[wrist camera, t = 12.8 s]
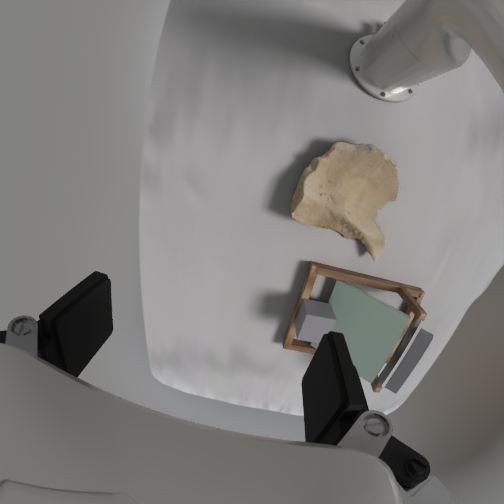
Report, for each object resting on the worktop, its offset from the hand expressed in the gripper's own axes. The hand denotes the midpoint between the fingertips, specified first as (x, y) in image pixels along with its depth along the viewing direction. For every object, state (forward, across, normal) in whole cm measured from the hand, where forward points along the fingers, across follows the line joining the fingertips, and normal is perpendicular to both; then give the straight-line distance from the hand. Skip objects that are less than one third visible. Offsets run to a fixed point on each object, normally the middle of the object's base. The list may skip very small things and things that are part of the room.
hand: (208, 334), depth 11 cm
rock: (+34, -15, -4) cm, 37 cm away
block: (+29, -16, +16) cm, 37 cm away
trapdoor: (+27, -24, +16) cm, 39 cm away
